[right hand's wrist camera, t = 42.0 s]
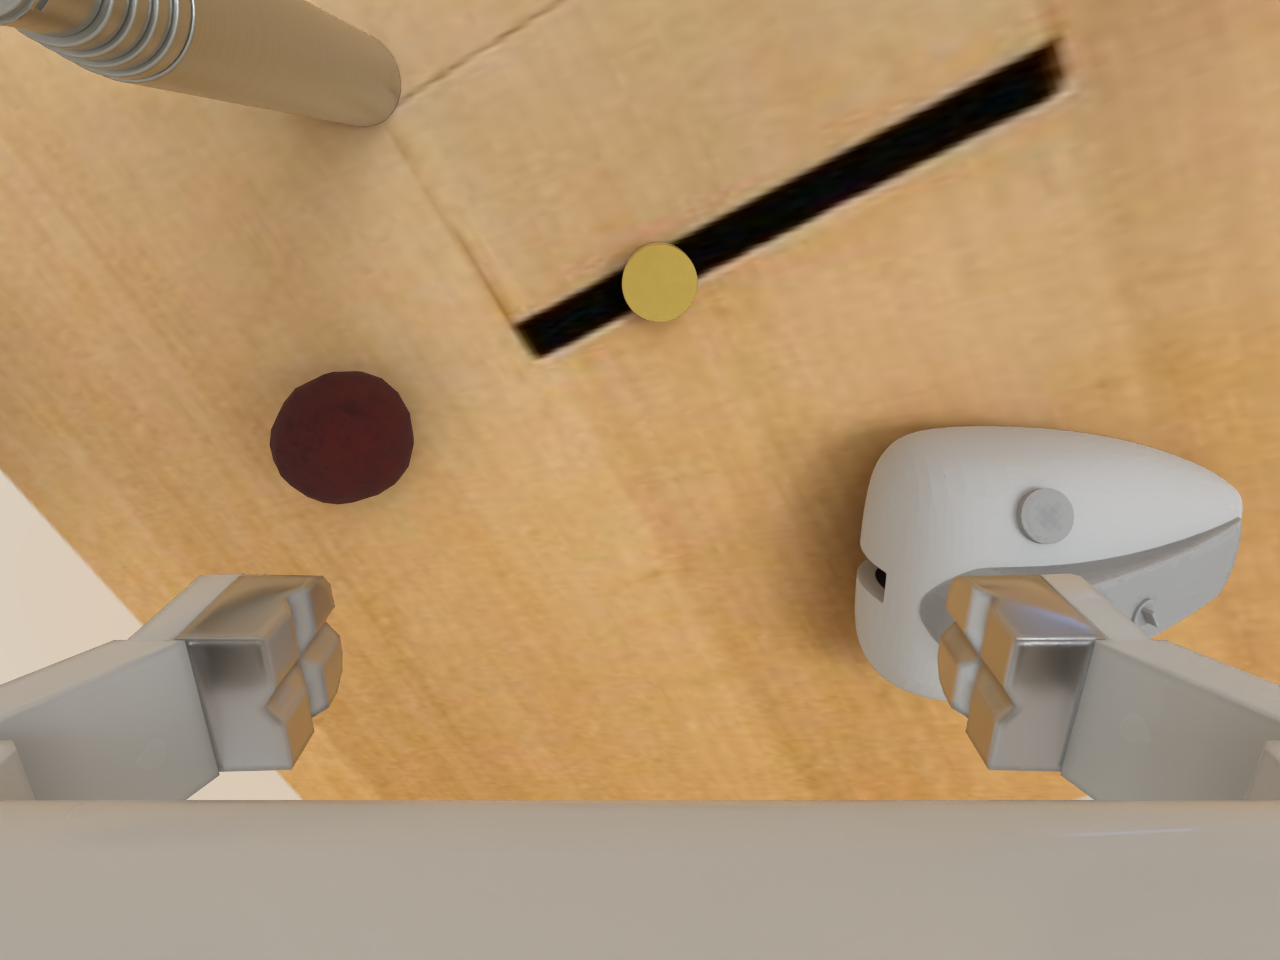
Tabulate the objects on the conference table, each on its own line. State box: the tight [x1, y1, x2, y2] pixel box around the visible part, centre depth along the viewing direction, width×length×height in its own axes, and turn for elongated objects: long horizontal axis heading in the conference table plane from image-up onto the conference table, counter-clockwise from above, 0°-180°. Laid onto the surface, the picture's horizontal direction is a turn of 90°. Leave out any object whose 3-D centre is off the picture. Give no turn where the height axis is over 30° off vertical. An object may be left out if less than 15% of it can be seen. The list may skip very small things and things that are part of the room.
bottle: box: [0, 0, 401, 127], centre depth 28 cm, size 4×4×25 cm
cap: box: [622, 242, 698, 322], centre depth 42 cm, size 4×4×2 cm
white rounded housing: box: [855, 426, 1242, 701], centre depth 42 cm, size 22×23×15 cm
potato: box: [270, 371, 413, 504], centre depth 43 cm, size 7×8×7 cm
